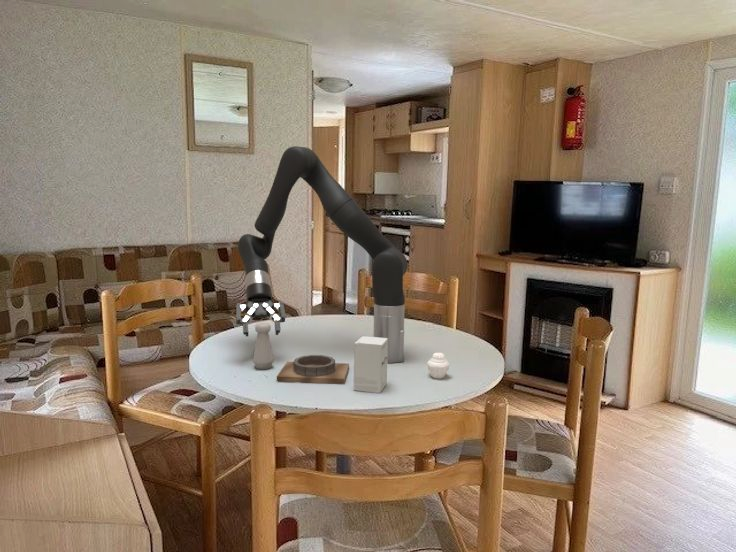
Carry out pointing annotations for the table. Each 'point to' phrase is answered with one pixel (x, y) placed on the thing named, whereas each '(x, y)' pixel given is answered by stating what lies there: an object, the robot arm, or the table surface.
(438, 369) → the muffin
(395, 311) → the robot arm
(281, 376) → the socket base
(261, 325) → the salt shaker
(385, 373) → the supplement box
